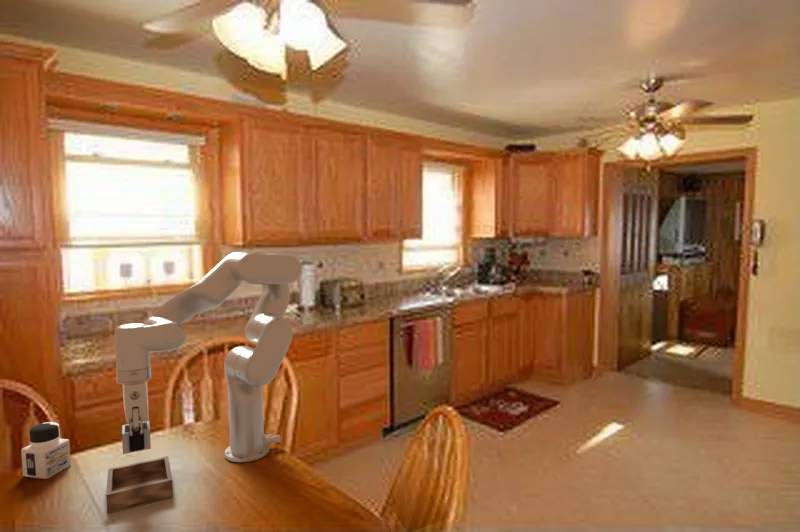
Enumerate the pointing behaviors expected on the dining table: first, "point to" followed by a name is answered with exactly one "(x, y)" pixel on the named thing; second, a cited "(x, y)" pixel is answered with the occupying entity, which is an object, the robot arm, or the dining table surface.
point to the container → (45, 452)
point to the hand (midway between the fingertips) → (136, 444)
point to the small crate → (127, 432)
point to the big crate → (138, 484)
